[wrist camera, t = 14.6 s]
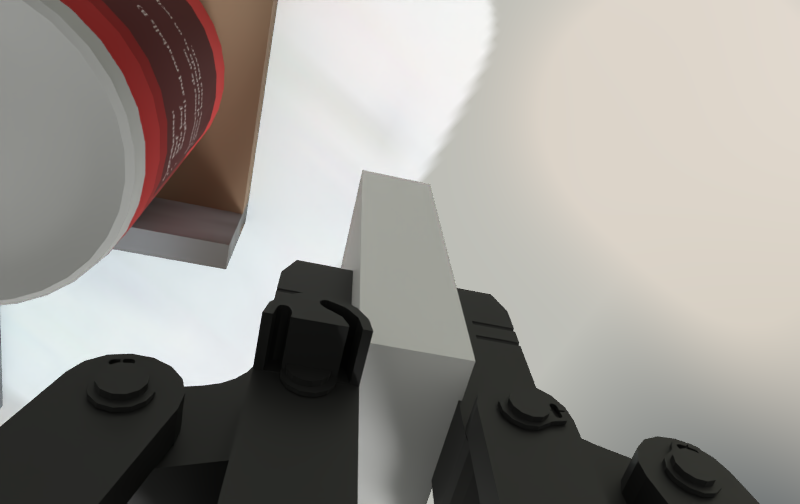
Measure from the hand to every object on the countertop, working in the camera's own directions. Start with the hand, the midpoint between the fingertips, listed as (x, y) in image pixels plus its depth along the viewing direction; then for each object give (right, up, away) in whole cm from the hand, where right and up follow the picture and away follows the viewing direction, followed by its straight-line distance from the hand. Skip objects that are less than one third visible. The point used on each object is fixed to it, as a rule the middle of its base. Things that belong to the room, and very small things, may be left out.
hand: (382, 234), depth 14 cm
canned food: (-10, +7, +9) cm, 15 cm away
